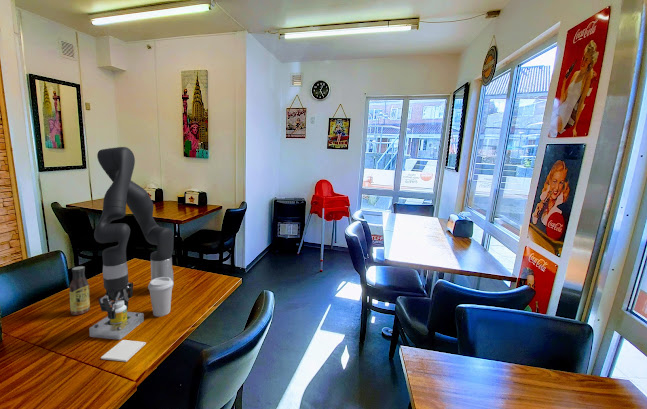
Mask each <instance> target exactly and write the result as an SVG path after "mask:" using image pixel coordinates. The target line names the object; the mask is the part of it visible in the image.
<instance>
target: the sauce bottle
mask: <svg viewBox="0 0 647 409" xmlns="http://www.w3.org/2000/svg"><path fill="white" fill-rule="evenodd" d="M85 271H86V267H85V266H83V265H80V266H74V267H72V268H71V272H72V280H71V281H70V284H69V290H68V292H69V309H70V314H71V315H73V316H77V315H78V316H79V315H83V314H86V313H87V312H88V311H90V309H91V308H90V306H91V302H90V301H91V300H90V299H91V298H90V284H89V282H88V279H87V278H86V274H85Z"/></svg>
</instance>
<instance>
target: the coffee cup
mask: <svg viewBox="0 0 647 409" xmlns="http://www.w3.org/2000/svg"><path fill="white" fill-rule="evenodd" d="M173 284H174V280H173V281H172V280H171V278H169V277H159V278H156V279H153V280H151V279H150V281H149V283H148V285H147V289H148V290H149V296H150V302H151V308H152V309H151V310H152V315H153V316H154V317H157V318H158V317H160V318H161V317H165V316H166V315H168V314H169V313H171V305H172V295H173V294H172V293H173V292H172V291H173V288H172V285H173Z"/></svg>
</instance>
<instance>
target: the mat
mask: <svg viewBox="0 0 647 409" xmlns="http://www.w3.org/2000/svg"><path fill="white" fill-rule="evenodd" d="M146 344H147V341H146V342H145V341H138V340H127V339H121V341H119V342H118V343H117V344H116V345H115V346H113V347H111V349H109V350H108V351H107V352H105V353H104V354H103V355H102V356H101V357H100V359H101V360H108V361H118V362H125V363H126V362H128V361H129V360H130V359H131V358H132V357H133V356H134V355H136V354H137V352H139V351H140V350H141V349H143V347H144V346H145V345H146Z"/></svg>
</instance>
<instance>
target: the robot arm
mask: <svg viewBox="0 0 647 409" xmlns="http://www.w3.org/2000/svg"><path fill="white" fill-rule="evenodd" d="M96 155H97V161H98V163H99V165H100V167H101V168H102V170H103V171H104V172H105V174H106V175H107V177H108V178H109V179H110V180H111V184H110V186H109V187H108V189H107V190H106V191H105V194H104V197H103V200H102V201H103V202H102V203H103V204H102V213H101V216H100V219H99V221H98V222H97V225H96V226H95V228H94V231H93V232H94V233H93V236H94V237H93V238H94V239H95V241H96V242H98V243H100V244H106V243H118V244H117V245H115V246H110V247H107V248H105V249H104V250H102V252H101V253H102V254H101V255H102V277H103V279H102V280H103V288H104V289H105V290H106V292H105V294H104V296H103V297H99V298H98V304H99V307H100V311H101V312H105V313H107V316H108V318H109V319H115V318H116V316H115V310H114V309H115V305H116V304H117V302H118V300H124V305H126V307H127V311H128V308H129V300H130V298H132V297H133V292H134V291H133V290H134V283H133V282H129V272H128V270H129V269H128V263H127V246H128V242H129V238H130V235H131V228H130V226H129V225H128V224H127V223H123V222H119V223H116V222H115V223H112V222H113V221H115V220H121V219H123V218H125V216H126V214H127V213H126V212H127V206H128V209H129V211H131V213H132V215H133V216H134V218H135V220H136V221H137V223H138V225H139V227H140V230H141V231H142V234H143V236H144V238H145V241H146V242H147V243H149V244H151V245H153V246H156V250H155V251H152V252H151V253H150V275H151V276H150V281H151V280H153V279H156V278H159V277H169V278H171V280H172V281H173V282H174V269H173V252H174V243H175V242H174V239H175V237H174V232H173V230H172V229H171V228H169V227H164V226H159V225H158V224H157V222H156V220H155V218H154V216H153V214H154V202H153V200H152V198H151V196H150V194H149V193H148V192H147V190H146V189H144V188H143V187H142V186H141V185H139V184H137V183H136V182H135V181H132V176H133V173H134V168H135V165H136V163H135V162H136V160H135V159H136V158H135V155H134V152H133V151H132V150H131V149H130V148H129V147H127V146H118V147H117V146H116V147H108V148H104V149H103V148H102V149H99V150H98V152H97V154H96ZM173 288H174V284H173V285H172V289H173ZM111 304H112V307H111Z"/></svg>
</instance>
